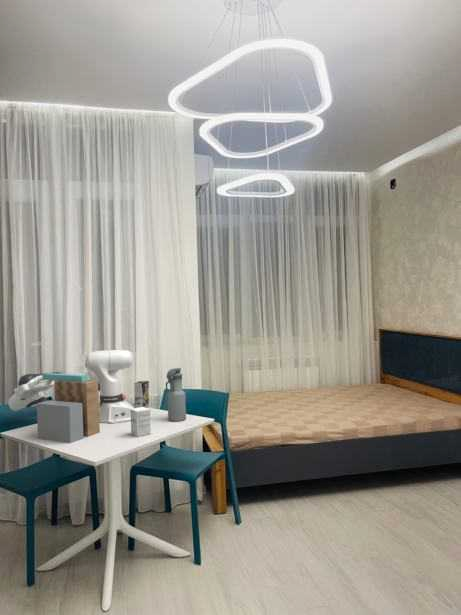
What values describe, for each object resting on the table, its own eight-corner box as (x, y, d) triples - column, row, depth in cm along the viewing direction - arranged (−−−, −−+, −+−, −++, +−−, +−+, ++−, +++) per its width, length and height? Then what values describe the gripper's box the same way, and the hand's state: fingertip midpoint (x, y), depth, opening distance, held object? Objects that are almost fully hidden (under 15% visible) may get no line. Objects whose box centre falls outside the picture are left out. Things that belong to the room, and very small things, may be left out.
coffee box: (144, 409, 281) (143, 383, 281) (134, 409, 283) (133, 383, 283) (149, 406, 290) (149, 380, 290) (140, 406, 292) (139, 380, 292)
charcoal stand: (37, 438, 224) (36, 403, 224) (51, 433, 231) (50, 400, 231) (70, 443, 213) (69, 406, 213) (83, 438, 220) (82, 403, 221)
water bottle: (176, 423, 245) (175, 370, 245) (163, 420, 251) (162, 369, 251) (189, 418, 253) (188, 368, 253) (176, 416, 259) (175, 367, 259)
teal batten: (42, 379, 240) (42, 374, 240) (48, 378, 244) (48, 373, 244) (81, 382, 227) (81, 376, 227) (87, 381, 231) (87, 375, 231)
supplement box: (130, 434, 225) (129, 408, 225) (144, 431, 229) (143, 406, 229) (137, 437, 219) (136, 411, 219) (151, 434, 223) (150, 408, 223)
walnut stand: (55, 432, 233) (54, 381, 233) (68, 428, 240) (66, 379, 240) (88, 436, 223) (86, 383, 223) (99, 432, 230) (98, 380, 230)
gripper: (47, 393, 256) (62, 382, 250) (15, 401, 237) (31, 388, 232) (43, 383, 257) (58, 372, 252) (11, 390, 239) (26, 377, 233)
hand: (44, 380), depth 242 cm, fingers open, 8 cm apart
